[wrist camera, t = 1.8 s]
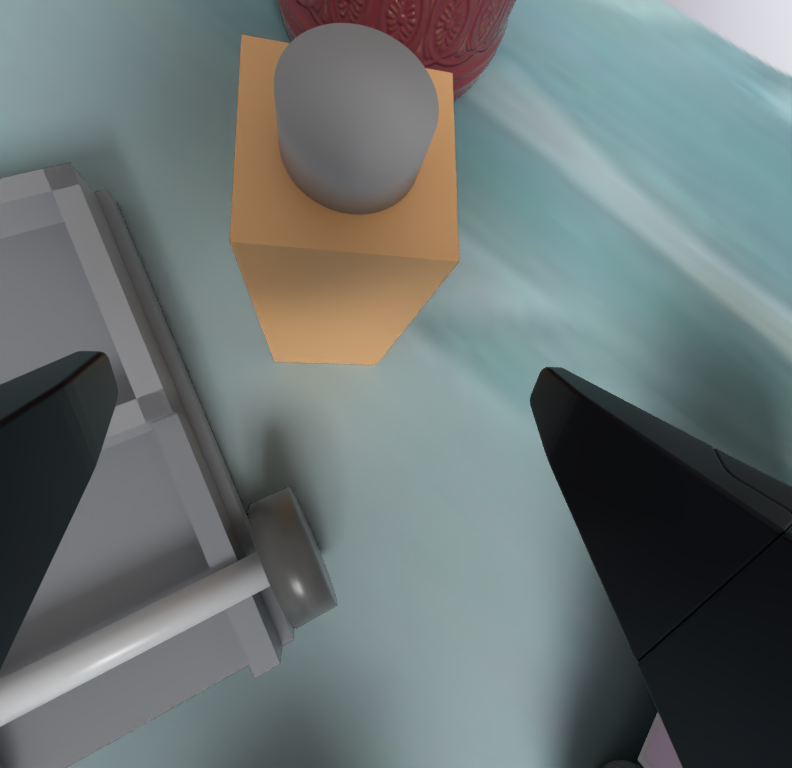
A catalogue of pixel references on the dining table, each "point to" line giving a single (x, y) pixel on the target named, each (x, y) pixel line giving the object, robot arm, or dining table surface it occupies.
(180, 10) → the dining table surface
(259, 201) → the block with grey dome
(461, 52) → the canister
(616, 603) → the robot arm
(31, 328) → the chassis
